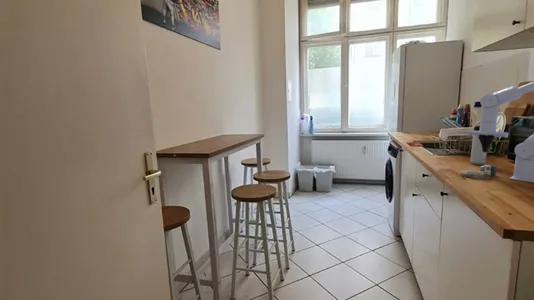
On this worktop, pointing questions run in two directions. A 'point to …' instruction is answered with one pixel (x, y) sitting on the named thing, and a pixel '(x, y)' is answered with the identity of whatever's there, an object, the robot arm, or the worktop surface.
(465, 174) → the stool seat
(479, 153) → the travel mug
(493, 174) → the block
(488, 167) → the hinged leg
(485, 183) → the worktop surface
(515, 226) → the worktop surface
